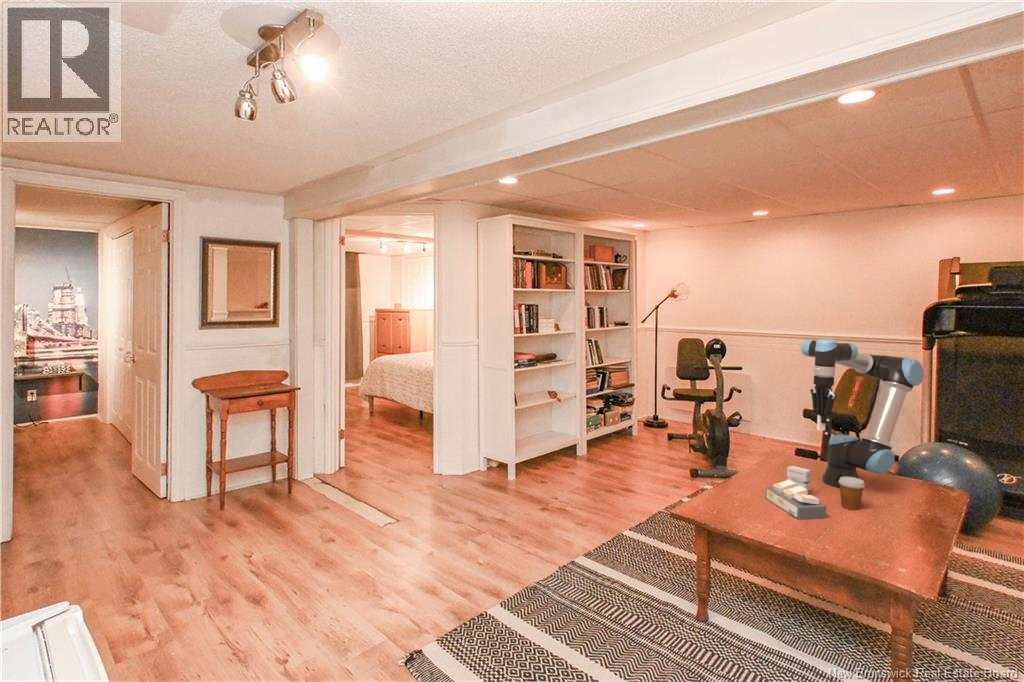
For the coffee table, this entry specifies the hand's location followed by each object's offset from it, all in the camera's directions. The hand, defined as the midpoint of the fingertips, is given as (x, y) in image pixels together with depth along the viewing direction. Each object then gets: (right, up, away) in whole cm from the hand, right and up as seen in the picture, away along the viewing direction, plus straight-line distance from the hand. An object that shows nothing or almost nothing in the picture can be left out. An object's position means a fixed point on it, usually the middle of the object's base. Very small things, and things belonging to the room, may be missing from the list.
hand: (820, 430), depth 228 cm
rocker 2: (-12, -26, -3) cm, 29 cm away
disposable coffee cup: (+12, -33, -1) cm, 35 cm away
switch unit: (-12, -33, -2) cm, 35 cm away
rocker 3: (-11, -27, -10) cm, 30 cm away
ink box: (-2, -31, +14) cm, 34 cm away
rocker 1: (-13, -25, +4) cm, 29 cm away
